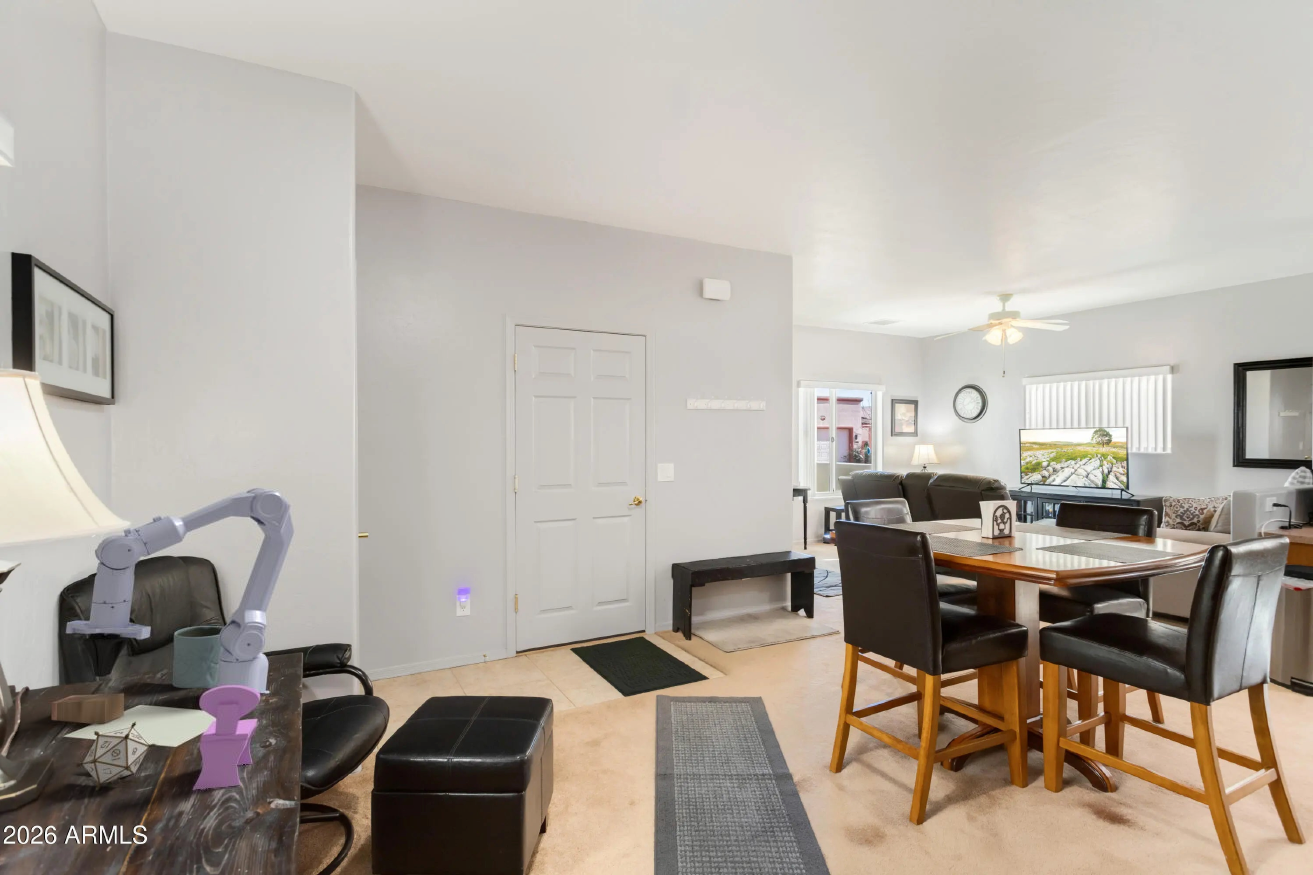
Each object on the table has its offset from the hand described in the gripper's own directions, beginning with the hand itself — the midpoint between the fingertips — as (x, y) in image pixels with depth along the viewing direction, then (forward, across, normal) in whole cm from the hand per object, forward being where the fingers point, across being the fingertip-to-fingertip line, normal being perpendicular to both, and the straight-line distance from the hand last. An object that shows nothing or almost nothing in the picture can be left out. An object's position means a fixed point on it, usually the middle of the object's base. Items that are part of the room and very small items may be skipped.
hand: (102, 675), depth 121 cm
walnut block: (+6, +3, 0) cm, 6 cm away
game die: (+9, +20, -19) cm, 29 cm away
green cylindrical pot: (+9, +1, +23) cm, 25 cm away
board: (+9, +11, 0) cm, 14 cm away
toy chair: (+9, +34, -14) cm, 38 cm away
